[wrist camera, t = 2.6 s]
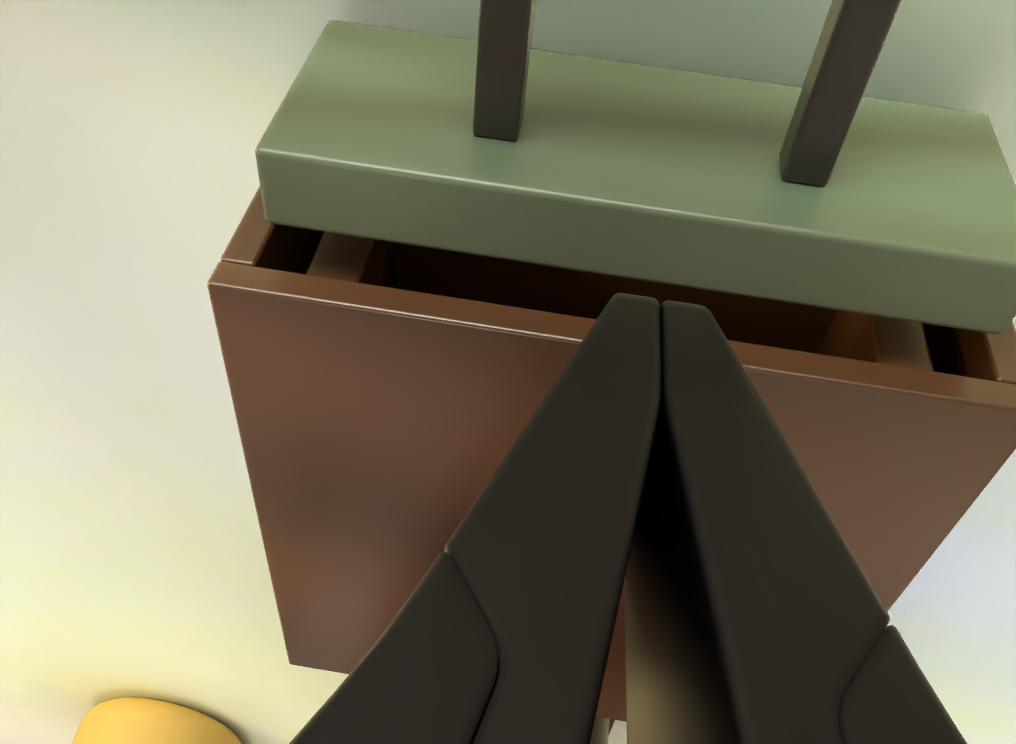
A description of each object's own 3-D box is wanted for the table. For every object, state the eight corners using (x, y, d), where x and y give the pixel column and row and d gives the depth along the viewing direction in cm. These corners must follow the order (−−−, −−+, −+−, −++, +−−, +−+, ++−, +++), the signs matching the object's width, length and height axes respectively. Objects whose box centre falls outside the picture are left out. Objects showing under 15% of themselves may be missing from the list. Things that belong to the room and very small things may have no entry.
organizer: (311, 86, 16) (205, 283, 12) (969, 184, 15) (1045, 414, 12) (346, 484, 24) (288, 665, 21) (769, 553, 24) (780, 748, 20)
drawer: (306, -314, 11) (195, -226, 9) (1154, -203, 11) (1285, -80, 8) (357, 451, 22) (316, 583, 19) (775, 519, 21) (784, 662, 19)
